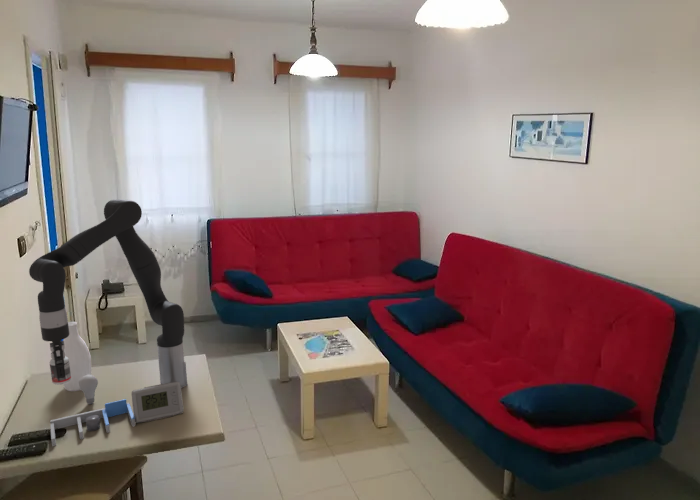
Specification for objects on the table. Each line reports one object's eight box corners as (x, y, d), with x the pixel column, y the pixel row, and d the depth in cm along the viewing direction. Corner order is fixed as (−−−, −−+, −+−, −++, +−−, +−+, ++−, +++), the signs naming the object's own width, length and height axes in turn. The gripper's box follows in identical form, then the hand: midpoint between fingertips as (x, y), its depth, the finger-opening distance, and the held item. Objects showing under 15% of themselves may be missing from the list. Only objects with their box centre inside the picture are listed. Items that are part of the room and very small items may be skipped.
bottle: (62, 395, 203) (54, 330, 198) (60, 384, 212) (52, 321, 207) (95, 388, 209) (88, 325, 203) (92, 377, 218) (85, 316, 213)
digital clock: (132, 425, 182) (129, 396, 180) (135, 412, 191) (133, 384, 188) (183, 418, 186) (181, 390, 184) (184, 406, 195) (182, 378, 192)
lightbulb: (92, 408, 193) (89, 379, 191) (77, 407, 194) (74, 378, 192) (103, 400, 199) (100, 372, 197) (88, 399, 200) (85, 371, 198)
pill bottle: (49, 381, 172) (45, 352, 170) (67, 375, 176) (63, 347, 174) (56, 386, 169) (52, 357, 167) (74, 380, 173) (70, 351, 171)
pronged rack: (129, 410, 192) (128, 397, 191) (135, 425, 182) (134, 411, 181) (51, 428, 180) (49, 414, 179) (52, 446, 170) (50, 431, 169)
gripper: (69, 327, 164) (75, 380, 168) (66, 314, 177) (73, 363, 180) (40, 332, 161) (48, 385, 164) (40, 318, 173) (47, 368, 177)
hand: (61, 373), depth 172 cm, fingers closed on pill bottle, 5 cm apart
